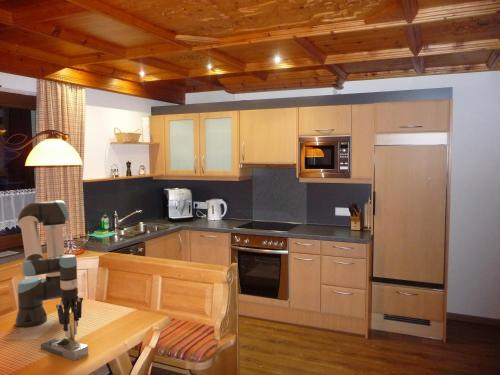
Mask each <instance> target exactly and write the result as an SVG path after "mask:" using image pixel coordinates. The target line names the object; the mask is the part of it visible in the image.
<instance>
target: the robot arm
mask: <svg viewBox="0 0 500 375" xmlns="http://www.w3.org/2000/svg"><path fill="white" fill-rule="evenodd" d="M67 221H69V211H68V207H67V203H66V202H65V201H63V200H47V201H46V200H45V201H33V202H30V203H28V204H27V205H25V206H24V207H23V208H22V209H21V210H20V212H19V214H18V217H17V224H18V227H19V228H20V230H21V236H22V243H23V249H24V250H23V251H24V257H25V260H23V262H21V263H22V264H21V270H22V276H24V277H27V278H25V279H23V280H21V281H20V282H18V283H17V291H16V292H17V303H18V306H17V307H18V311H17V313H16V317H15V321H14V322H15V326H16V327H19V328H29V327H35V326H36V327H37V326H39V325H41V324H42V325H43V324H44V323H45V322H46V321H47V320H48V314H47V312H46V310H45V308H44V303H43V302H44V301H49V300H50V301H51V300H55V299H61V300H60V302H59V304H56V305H55V308H56V309H57V316H58V322H59V324H60V325H61V326H62V325H63V331H64V338H67V339H68V338H70V324H68V319H69V311H74V329H75V336H76V335H78V327H79V321H80V319H81V318H82V313H83V312H82V310H83V306H82V305H83V301H84V298H83V297H81V296H78V295H79V289H78V288H79V287H78V261H77V256H76V255H75V254H65V244H64V242H65V240H64V226H66V222H67ZM39 224H42V227H44V228H45V234H46V252H47V253H46V254H47V258H45V257H44V256H43V255H44V254H43V249H42V244H41V239H40V234H39V228H38V225H39ZM40 275H41V276H42V275H45V278H42V277H41V276H40ZM28 277H29V278H28Z"/></svg>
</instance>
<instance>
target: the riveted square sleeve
mask: <svg viewBox="0 0 500 375" xmlns="http://www.w3.org/2000/svg"><path fill="white" fill-rule="evenodd" d="M40 349H41V350H44V351H45V352H49V353H52V354H55V355H58V356H60V357H63V358H66V359H69V360H72V361H73V362H76V361H78V360H79V359H81V358H83V357H85V356H87V355H89V345H88V344H84V343H81V342H78V341H72V340H69V339H68V338H67V337H64V338H62V339H60V340H59V339H56V338H53V339H51V340H49V341H46V342H43V343H41V344H40Z"/></svg>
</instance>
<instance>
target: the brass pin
mask: <svg viewBox="0 0 500 375" xmlns="http://www.w3.org/2000/svg"><path fill="white" fill-rule="evenodd" d="M68 324H70V338H68V337H67V339H69V340H72V341H75V340H76V335H75V329H74V311H71V310H69V319H68ZM75 342H76V341H75Z"/></svg>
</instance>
